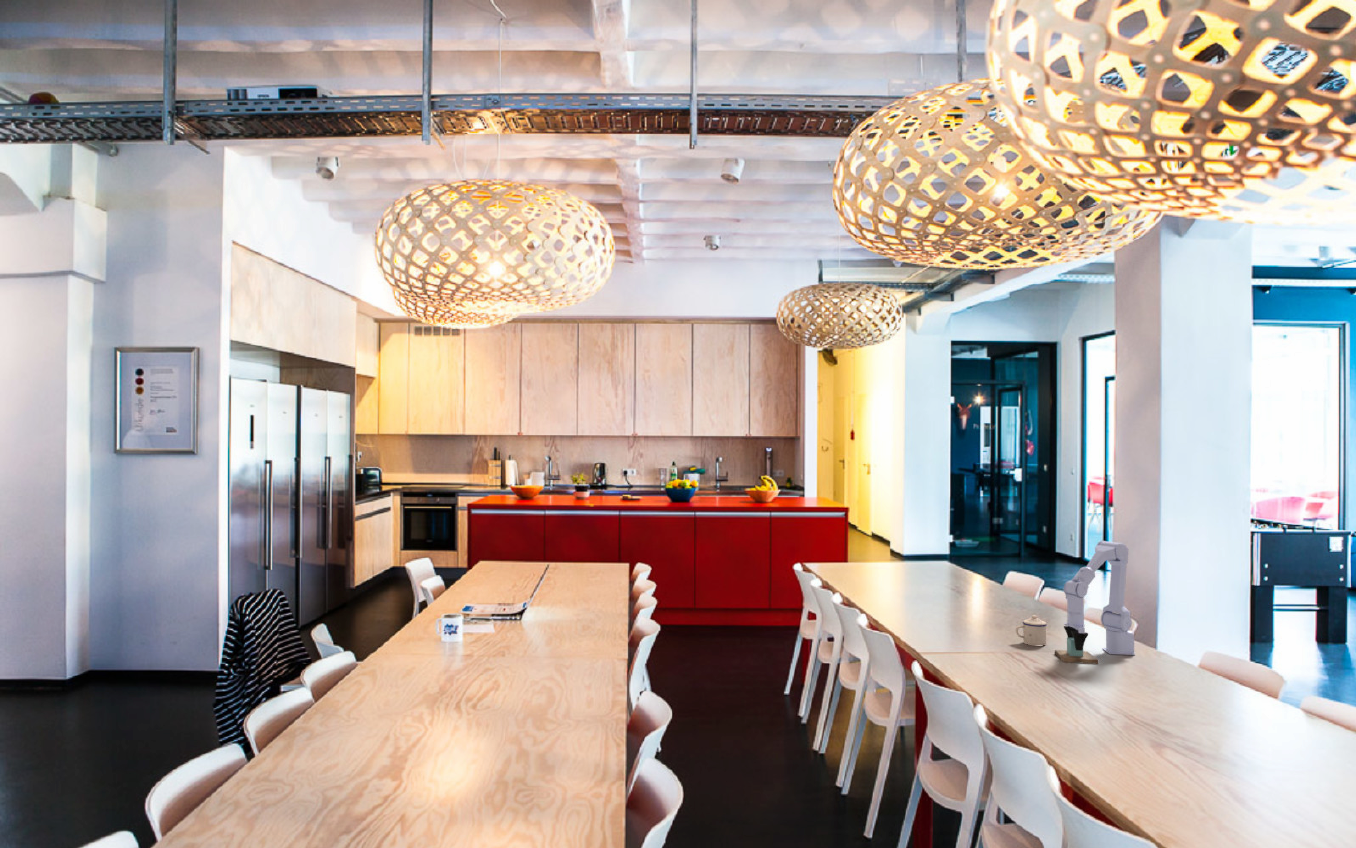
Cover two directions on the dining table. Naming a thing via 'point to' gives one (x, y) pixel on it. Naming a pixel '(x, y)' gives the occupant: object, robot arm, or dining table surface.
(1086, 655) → the walnut slab
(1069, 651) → the teal block
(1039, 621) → the teacup with lid
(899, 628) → the dining table surface
